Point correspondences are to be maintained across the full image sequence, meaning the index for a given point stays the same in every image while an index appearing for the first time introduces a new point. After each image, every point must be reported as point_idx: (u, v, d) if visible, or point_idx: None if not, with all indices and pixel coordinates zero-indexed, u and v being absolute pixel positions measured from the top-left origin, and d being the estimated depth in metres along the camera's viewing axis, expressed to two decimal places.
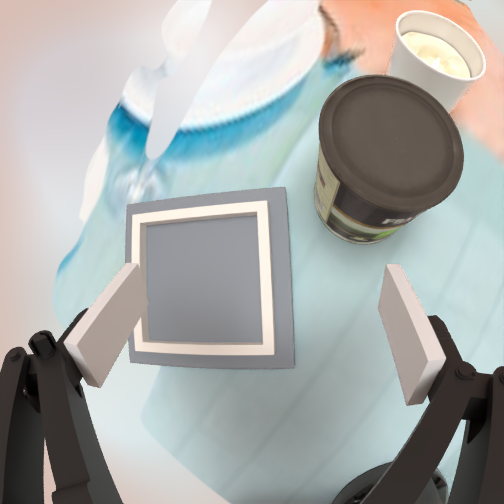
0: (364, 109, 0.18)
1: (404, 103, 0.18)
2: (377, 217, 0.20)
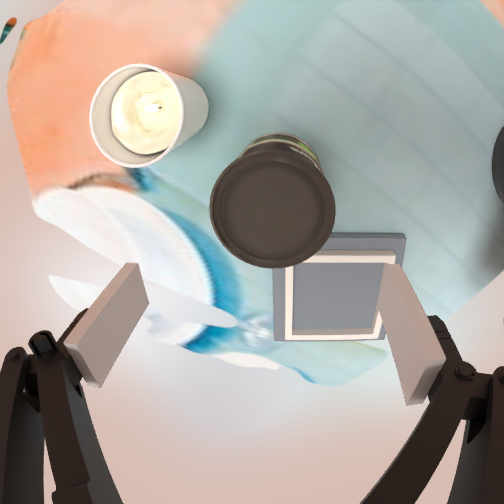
0: (249, 233, 0.26)
1: (238, 198, 0.25)
2: None
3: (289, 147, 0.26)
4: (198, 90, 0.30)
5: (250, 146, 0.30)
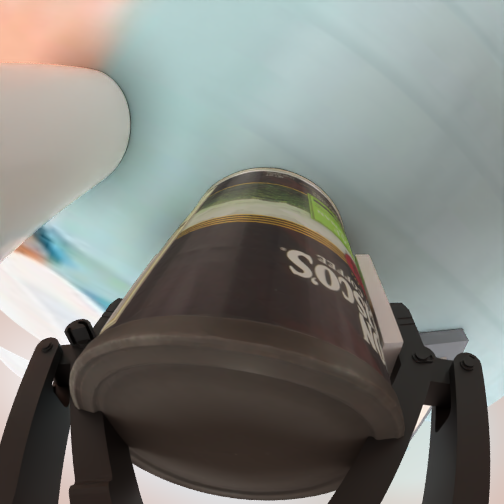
0: (181, 465, 0.09)
1: (136, 420, 0.08)
2: None
3: (284, 256, 0.09)
4: (93, 91, 0.13)
5: (192, 218, 0.13)
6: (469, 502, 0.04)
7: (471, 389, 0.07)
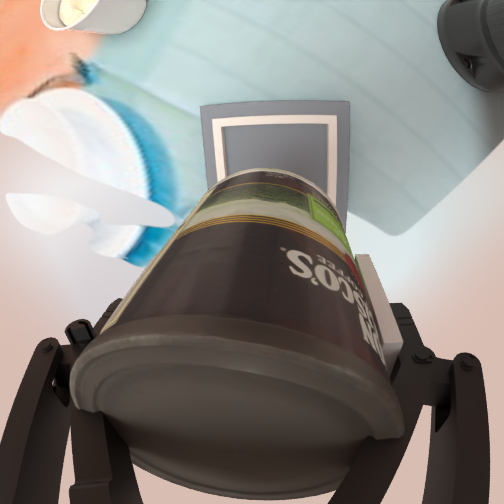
0: (181, 465, 0.09)
1: (136, 420, 0.08)
2: None
3: (284, 256, 0.09)
4: None
5: (192, 218, 0.13)
6: (469, 502, 0.04)
7: (471, 389, 0.07)
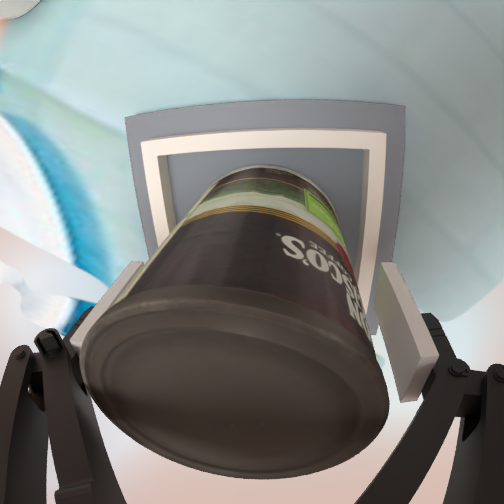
0: (180, 440, 0.10)
1: (140, 391, 0.09)
2: None
3: (279, 240, 0.10)
4: None
5: (195, 209, 0.14)
6: None
7: (501, 401, 0.07)
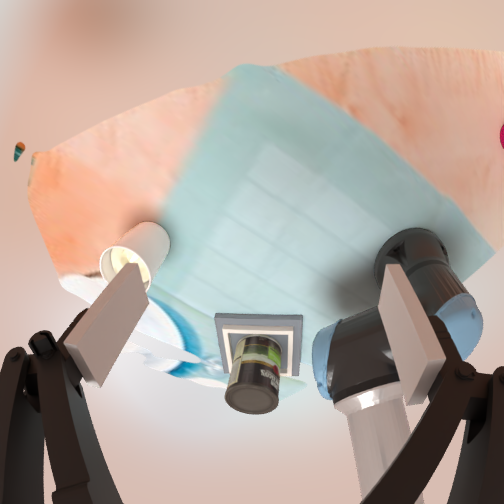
0: (241, 404, 0.55)
1: (237, 395, 0.54)
2: None
3: (260, 371, 0.55)
4: (160, 240, 0.53)
5: (242, 356, 0.59)
6: None
7: None
